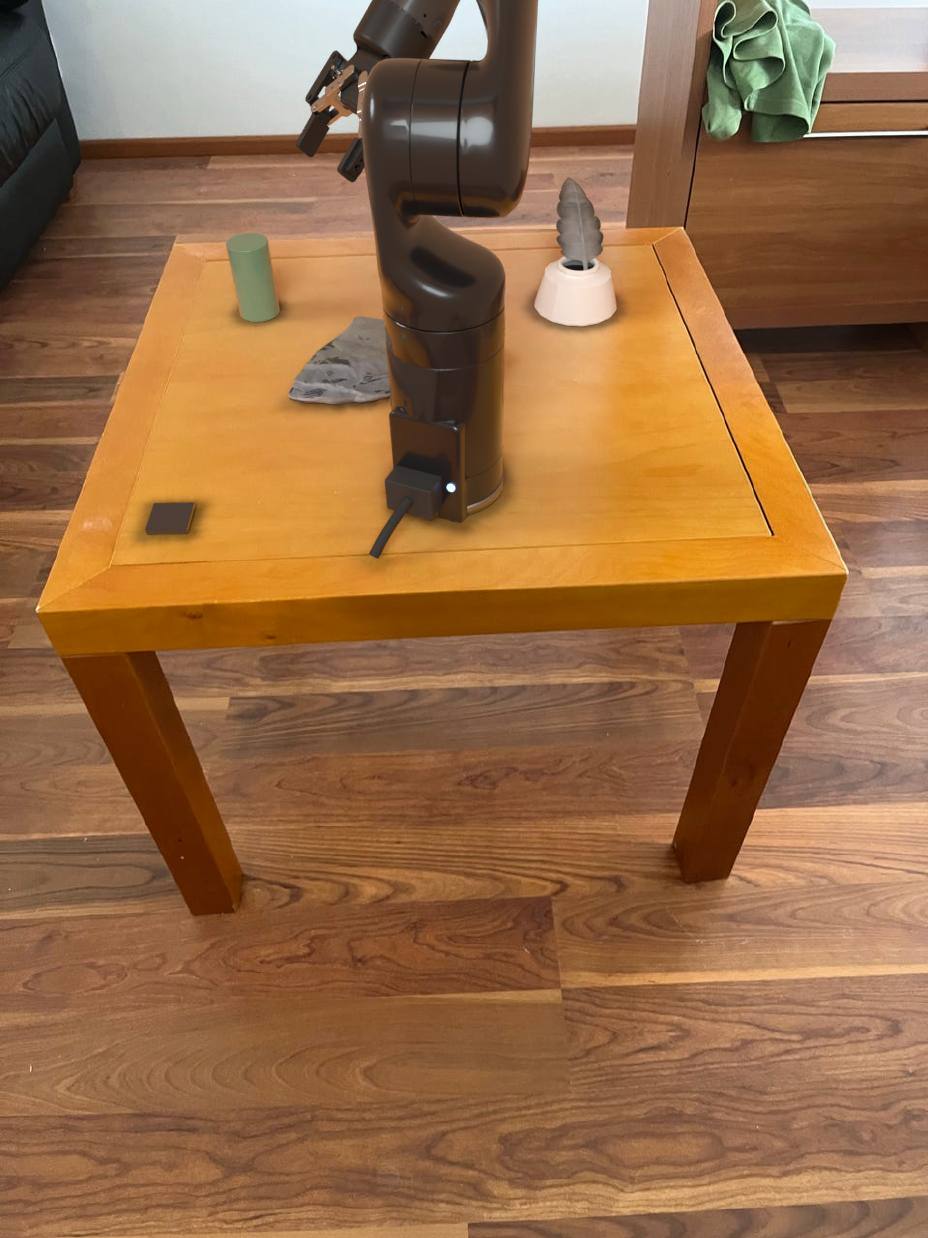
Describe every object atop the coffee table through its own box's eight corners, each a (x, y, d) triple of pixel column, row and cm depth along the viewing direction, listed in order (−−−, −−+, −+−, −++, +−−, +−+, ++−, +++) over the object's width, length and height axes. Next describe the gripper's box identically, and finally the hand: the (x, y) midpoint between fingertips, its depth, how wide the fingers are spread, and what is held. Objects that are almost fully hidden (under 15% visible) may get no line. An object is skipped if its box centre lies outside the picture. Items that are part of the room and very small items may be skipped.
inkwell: (540, 329, 100) (544, 238, 93) (517, 254, 113) (520, 168, 106) (625, 324, 101) (635, 233, 94) (593, 249, 113) (600, 163, 106)
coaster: (188, 533, 78) (186, 528, 78) (146, 534, 78) (144, 529, 78) (195, 507, 81) (194, 501, 80) (155, 507, 81) (153, 502, 80)
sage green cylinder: (266, 325, 102) (253, 254, 96) (232, 317, 103) (217, 247, 97) (287, 306, 105) (275, 236, 99) (253, 299, 106) (240, 229, 100)
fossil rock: (499, 350, 98) (499, 329, 96) (462, 432, 88) (461, 411, 86) (341, 329, 101) (338, 309, 99) (288, 406, 91) (285, 385, 90)
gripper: (345, -22, 96) (264, 124, 99) (424, 8, 88) (333, 165, 91) (391, 28, 102) (314, 164, 105) (470, 60, 94) (383, 205, 97)
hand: (323, 164), depth 98 cm, fingers open, 8 cm apart
